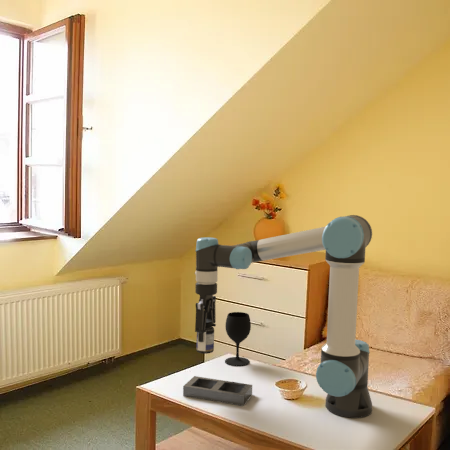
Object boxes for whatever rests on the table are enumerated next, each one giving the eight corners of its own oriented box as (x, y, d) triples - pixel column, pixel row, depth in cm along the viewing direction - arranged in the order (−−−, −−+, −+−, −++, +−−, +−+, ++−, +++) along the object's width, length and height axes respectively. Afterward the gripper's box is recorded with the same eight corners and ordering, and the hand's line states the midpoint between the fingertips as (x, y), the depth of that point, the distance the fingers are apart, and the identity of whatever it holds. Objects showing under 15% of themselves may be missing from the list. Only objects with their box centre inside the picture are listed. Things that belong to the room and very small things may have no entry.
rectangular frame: (252, 394, 184) (252, 384, 184) (243, 405, 174) (243, 395, 174) (194, 385, 191) (194, 376, 191) (183, 395, 182) (183, 386, 181)
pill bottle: (194, 349, 185) (195, 318, 184) (211, 347, 187) (211, 317, 186) (198, 354, 179) (199, 323, 178) (216, 353, 181) (216, 322, 180)
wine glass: (235, 368, 209) (237, 319, 208) (219, 361, 217) (220, 313, 216) (255, 363, 216) (256, 315, 214) (238, 356, 224) (239, 310, 222)
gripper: (206, 276, 191) (205, 338, 193) (185, 286, 173) (184, 354, 175) (225, 278, 189) (224, 341, 191) (206, 288, 171) (205, 357, 173)
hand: (205, 347), depth 183 cm, fingers closed on pill bottle, 6 cm apart
